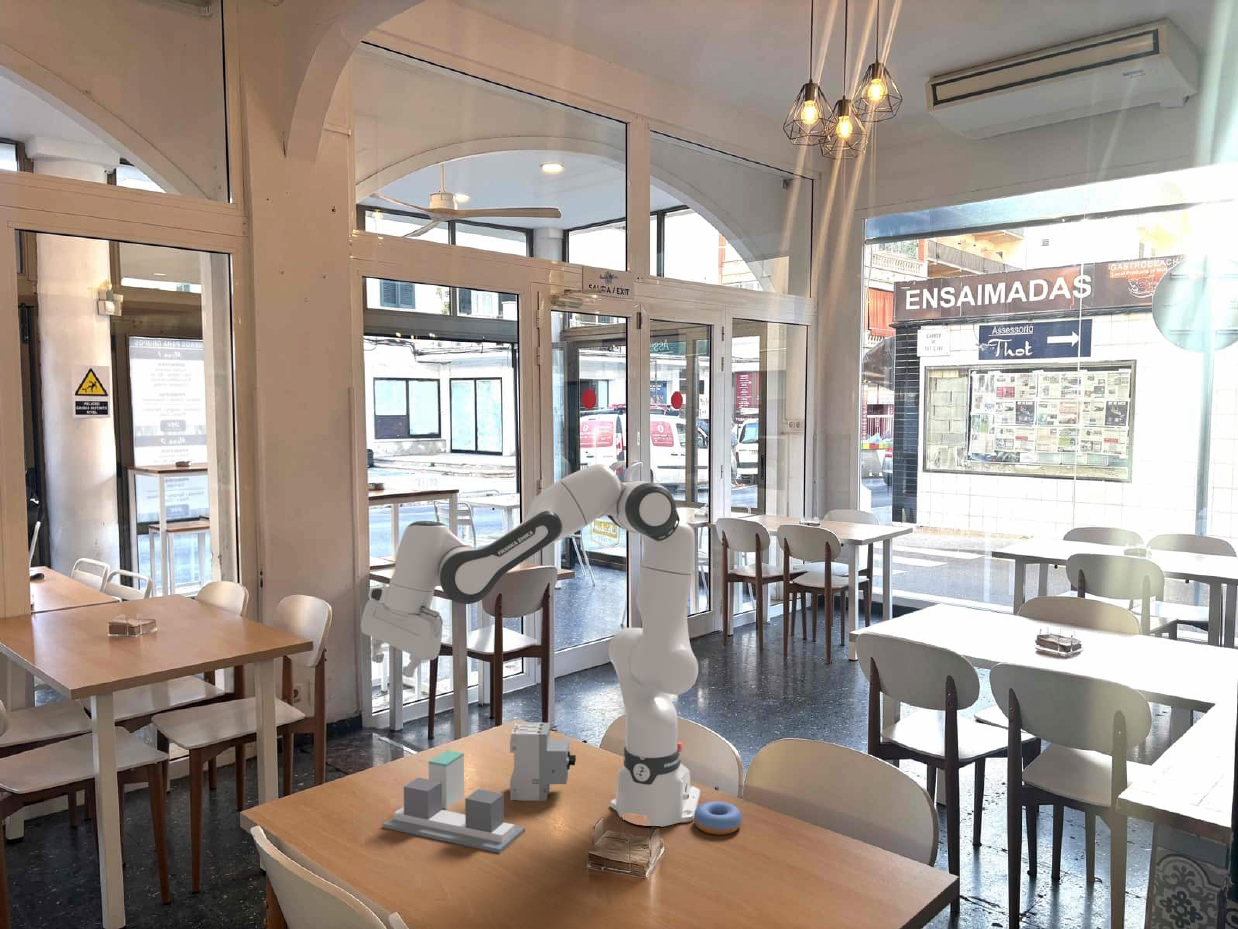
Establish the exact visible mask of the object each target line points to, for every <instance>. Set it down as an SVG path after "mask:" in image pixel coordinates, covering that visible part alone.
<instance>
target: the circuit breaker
mask: <svg viewBox="0 0 1238 929" xmlns="http://www.w3.org/2000/svg"><path fill="white" fill-rule="evenodd" d="M509 740H510V742H509V754H513V765H514V767H513V771H512V773H511V776H510V781H509V793H510V796H509V797H510V798H509V801H513V800H516V801H540V802H541V801H543V802H545V801H547V800H548V796H549V792H550V789H551V785H567V784H568V779H569V773H570V769H571V766H576V760H577V756H576V754H571V752H570V739H569V738H551V722H515V724H514V726H513V729H512V731H511V733H510V739H509Z"/></svg>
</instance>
